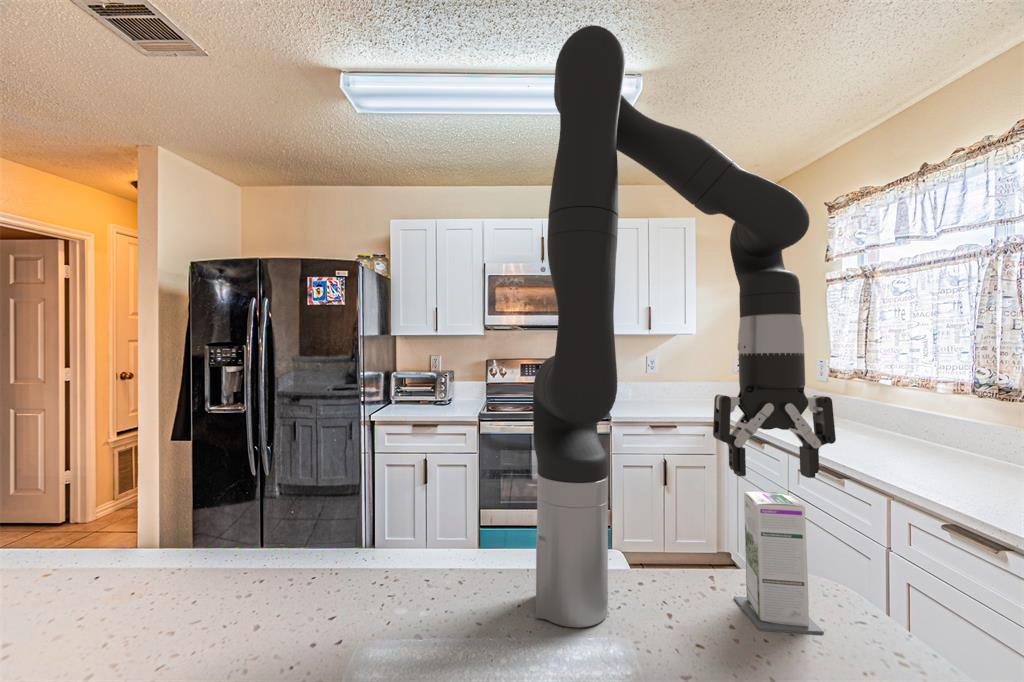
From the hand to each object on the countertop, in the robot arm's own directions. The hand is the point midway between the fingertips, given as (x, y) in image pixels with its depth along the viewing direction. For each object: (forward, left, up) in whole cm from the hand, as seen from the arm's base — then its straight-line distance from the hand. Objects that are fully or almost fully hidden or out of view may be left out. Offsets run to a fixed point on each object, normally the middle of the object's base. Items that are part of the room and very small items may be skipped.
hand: (773, 475), depth 59 cm
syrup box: (0, 0, -17) cm, 17 cm away
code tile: (0, 0, -18) cm, 18 cm away
